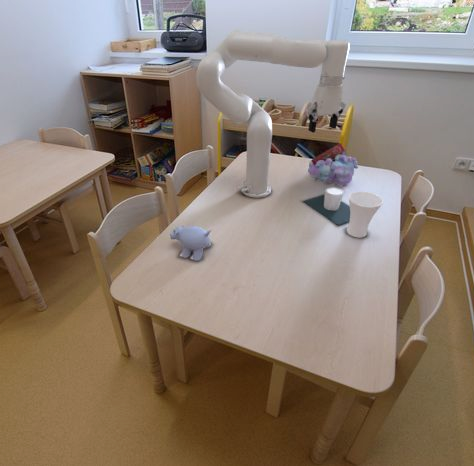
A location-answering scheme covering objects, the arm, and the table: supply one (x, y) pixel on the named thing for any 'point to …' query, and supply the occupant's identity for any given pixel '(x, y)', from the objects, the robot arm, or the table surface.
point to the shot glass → (333, 198)
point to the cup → (362, 212)
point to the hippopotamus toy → (192, 240)
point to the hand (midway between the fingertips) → (322, 129)
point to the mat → (335, 216)
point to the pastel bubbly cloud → (333, 166)
